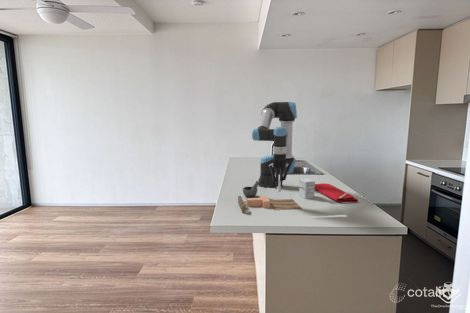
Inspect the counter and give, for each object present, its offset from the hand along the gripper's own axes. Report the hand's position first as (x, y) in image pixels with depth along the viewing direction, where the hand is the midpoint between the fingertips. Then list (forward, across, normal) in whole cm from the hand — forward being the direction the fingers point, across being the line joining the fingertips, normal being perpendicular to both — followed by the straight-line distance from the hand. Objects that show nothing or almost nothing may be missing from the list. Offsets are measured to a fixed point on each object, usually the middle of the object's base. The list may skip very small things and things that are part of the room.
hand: (278, 191), depth 178 cm
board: (+9, -5, -1) cm, 11 cm away
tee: (+8, -13, -1) cm, 16 cm away
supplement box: (+10, +23, +13) cm, 28 cm away
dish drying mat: (+11, +45, +22) cm, 51 cm away
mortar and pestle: (+10, -14, +17) cm, 24 cm away
